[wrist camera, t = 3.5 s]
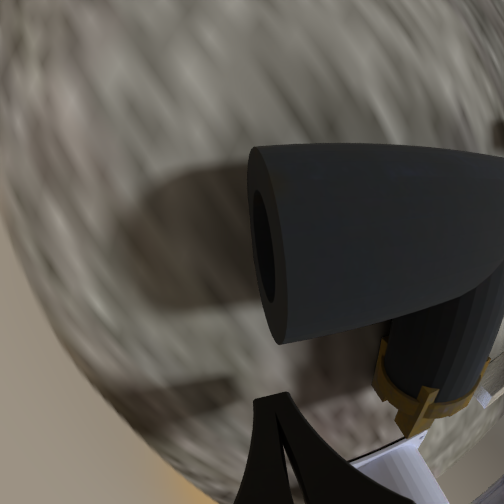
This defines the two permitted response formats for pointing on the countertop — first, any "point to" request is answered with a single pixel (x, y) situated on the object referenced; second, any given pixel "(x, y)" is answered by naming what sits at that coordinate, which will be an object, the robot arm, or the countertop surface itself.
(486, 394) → the aluminium bracket
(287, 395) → the robot arm
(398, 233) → the pipe connector
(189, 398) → the countertop surface
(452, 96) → the countertop surface
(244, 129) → the countertop surface
